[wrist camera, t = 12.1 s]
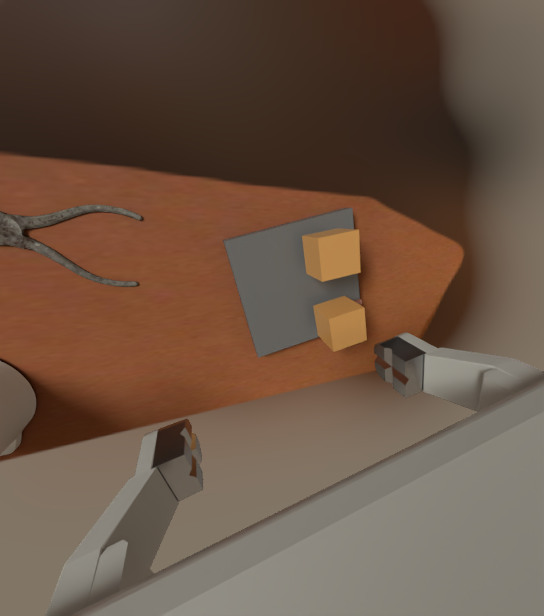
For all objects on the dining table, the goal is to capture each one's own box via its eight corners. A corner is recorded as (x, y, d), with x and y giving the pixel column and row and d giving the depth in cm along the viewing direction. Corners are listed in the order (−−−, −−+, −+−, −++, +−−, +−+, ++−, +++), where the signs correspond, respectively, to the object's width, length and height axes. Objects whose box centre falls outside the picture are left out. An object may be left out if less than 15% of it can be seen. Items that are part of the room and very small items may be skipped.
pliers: (151, 286, 33) (-44, 293, 28) (152, 284, 34) (-37, 291, 29) (140, 206, 29) (-85, 198, 24) (141, 206, 30) (-76, 198, 25)
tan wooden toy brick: (301, 235, 32) (317, 238, 27) (337, 228, 33) (358, 229, 28) (306, 273, 34) (322, 281, 29) (340, 265, 35) (360, 272, 30)
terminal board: (255, 351, 41) (268, 384, 33) (222, 239, 33) (229, 248, 25) (355, 317, 43) (389, 341, 35) (344, 207, 36) (384, 206, 28)
